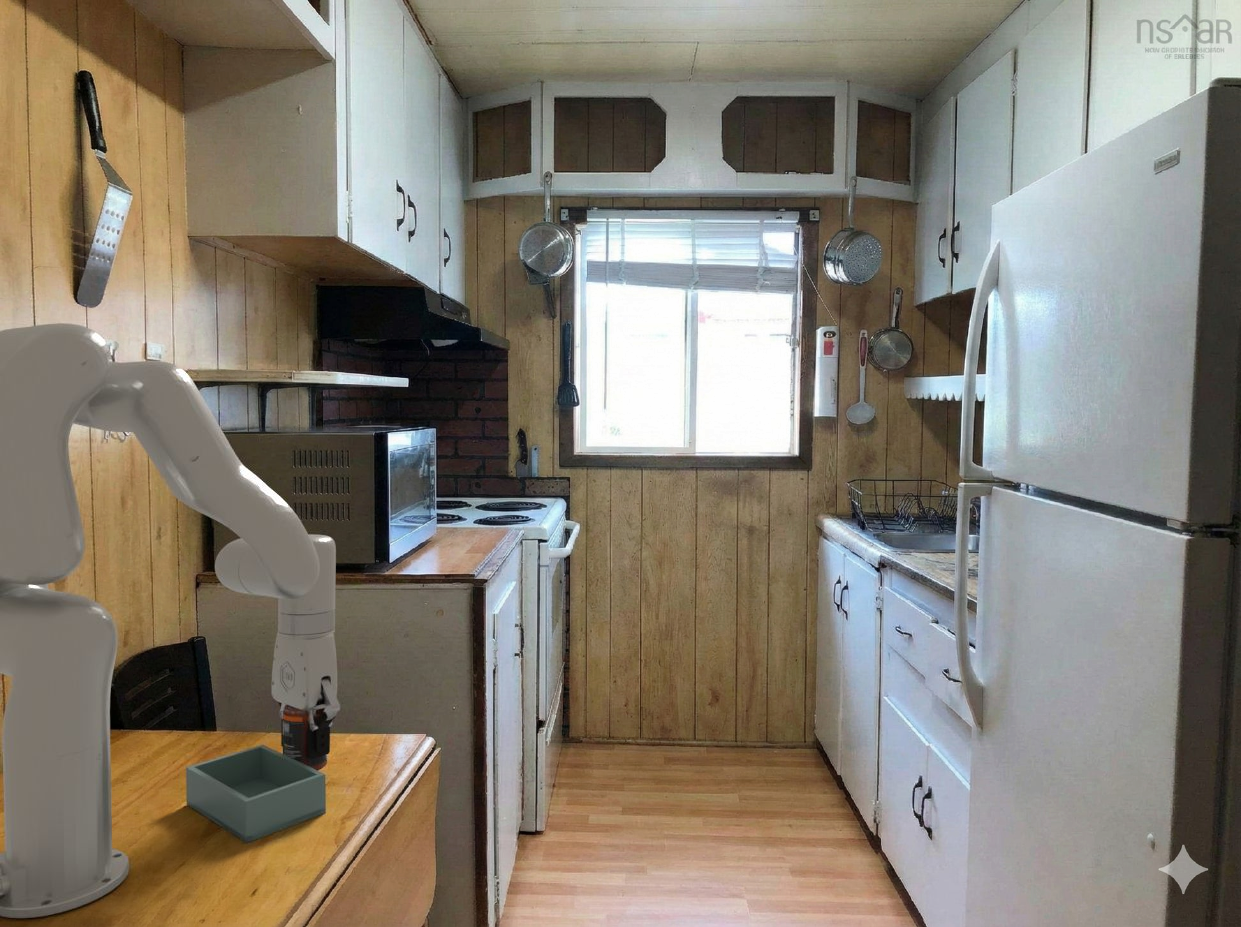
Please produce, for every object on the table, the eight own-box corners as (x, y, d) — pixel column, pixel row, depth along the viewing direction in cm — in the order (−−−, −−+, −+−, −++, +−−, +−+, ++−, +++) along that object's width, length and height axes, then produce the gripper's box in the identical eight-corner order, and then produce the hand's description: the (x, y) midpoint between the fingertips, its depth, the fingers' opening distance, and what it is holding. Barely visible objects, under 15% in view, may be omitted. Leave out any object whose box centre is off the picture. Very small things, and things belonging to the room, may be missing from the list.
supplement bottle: (334, 761, 120) (335, 683, 120) (315, 777, 114) (316, 695, 114) (295, 759, 121) (296, 681, 121) (273, 774, 115) (275, 693, 115)
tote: (246, 843, 99) (245, 801, 99) (186, 805, 109) (186, 767, 109) (325, 812, 107) (325, 774, 107) (263, 779, 117) (262, 744, 117)
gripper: (250, 618, 120) (249, 743, 120) (315, 636, 109) (313, 773, 109) (299, 611, 126) (297, 730, 126) (365, 628, 115) (363, 758, 115)
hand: (305, 749), depth 118 cm, fingers closed on supplement bottle, 6 cm apart
